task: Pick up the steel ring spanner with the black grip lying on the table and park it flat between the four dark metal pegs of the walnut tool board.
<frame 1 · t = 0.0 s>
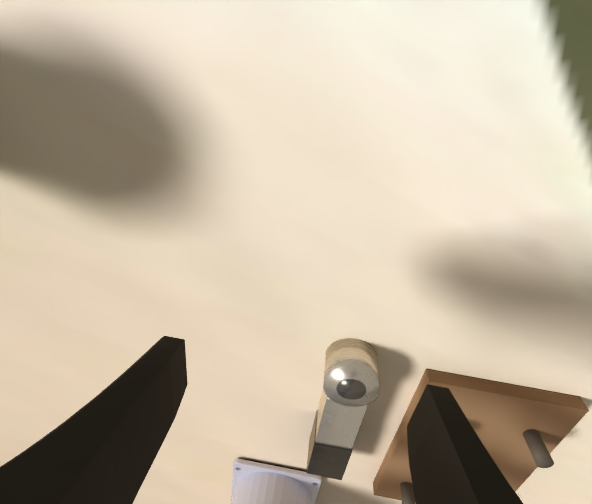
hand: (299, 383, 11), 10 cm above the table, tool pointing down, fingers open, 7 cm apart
spanner: (335, 409, 27), on the table
tool board: (460, 446, 27), on the table
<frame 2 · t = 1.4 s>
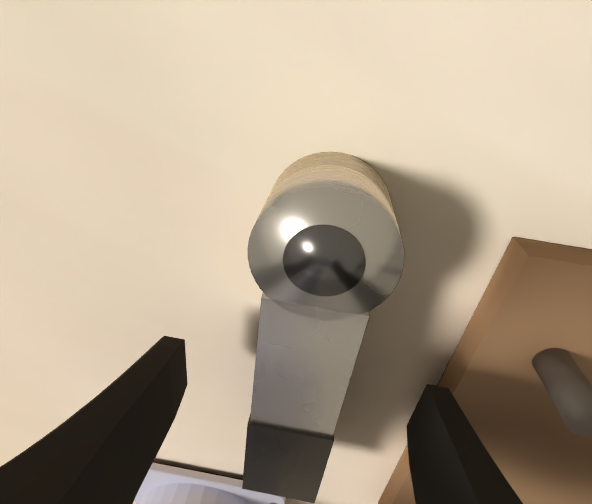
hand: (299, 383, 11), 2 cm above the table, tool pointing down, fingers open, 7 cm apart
spanner: (301, 355, 13), on the table
tool board: (559, 432, 13), on the table
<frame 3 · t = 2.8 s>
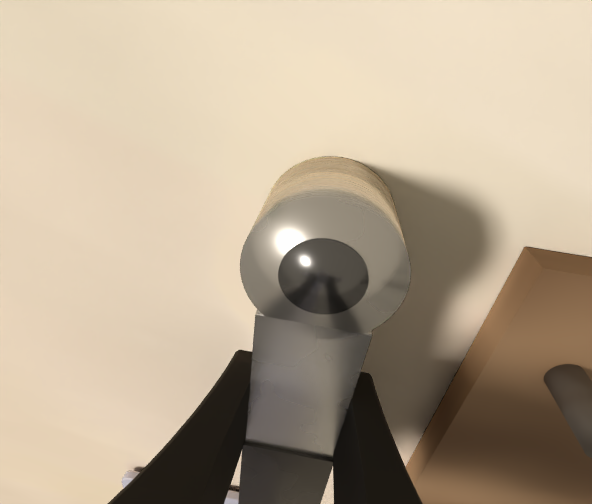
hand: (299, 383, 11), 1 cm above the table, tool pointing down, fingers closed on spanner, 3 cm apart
spanner: (300, 368, 12), on the table, touching gripper
tool board: (569, 447, 13), on the table
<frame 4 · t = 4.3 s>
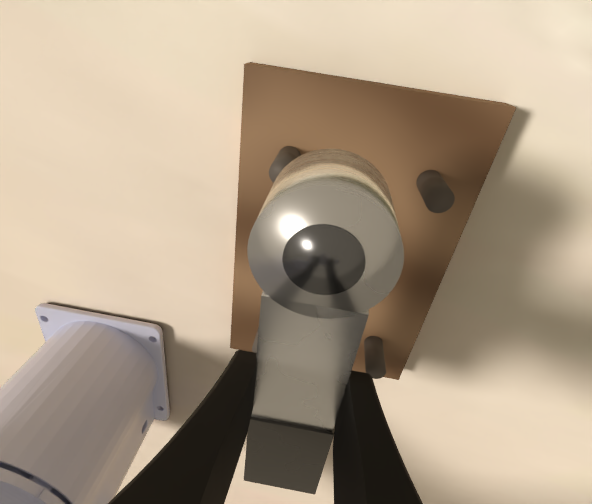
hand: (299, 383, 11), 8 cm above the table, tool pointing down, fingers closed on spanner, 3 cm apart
spanner: (302, 350, 13), point 6 cm above the table, touching gripper
tool board: (339, 246, 18), on the table
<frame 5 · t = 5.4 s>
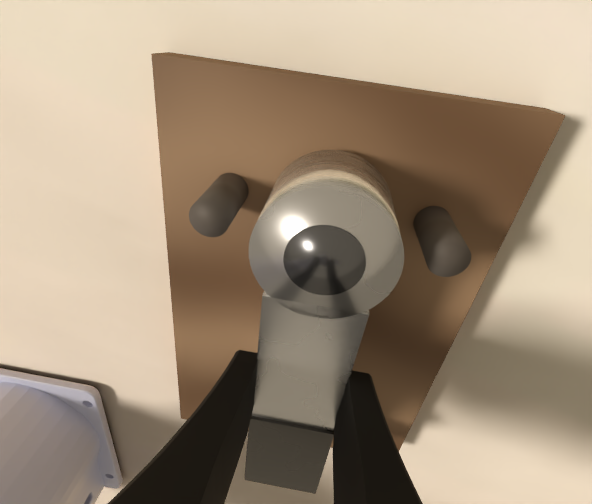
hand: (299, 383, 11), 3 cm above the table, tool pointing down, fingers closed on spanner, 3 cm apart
spanner: (303, 350, 13), point 1 cm above the table, touching gripper
tool board: (311, 299, 13), on the table
when the fingers open (3 cm above the table, at t = 6.0 s): spanner stays where it is, resting on tool board.
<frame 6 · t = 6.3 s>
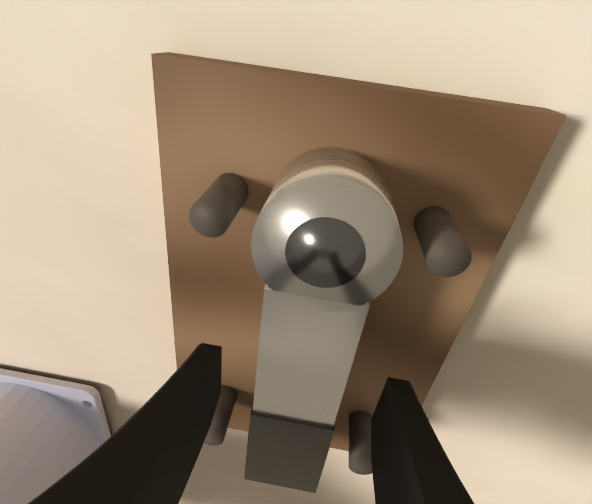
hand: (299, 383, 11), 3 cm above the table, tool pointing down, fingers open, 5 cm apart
spanner: (303, 348, 13), point 1 cm above the table, touching tool board
tool board: (311, 299, 13), on the table
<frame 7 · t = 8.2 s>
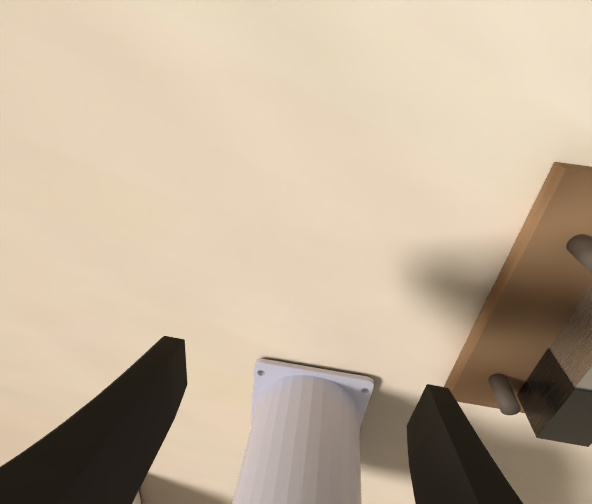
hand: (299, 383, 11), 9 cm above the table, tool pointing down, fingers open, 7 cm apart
spanner: (578, 345, 19), point 1 cm above the table, touching tool board
tool board: (582, 311, 19), on the table
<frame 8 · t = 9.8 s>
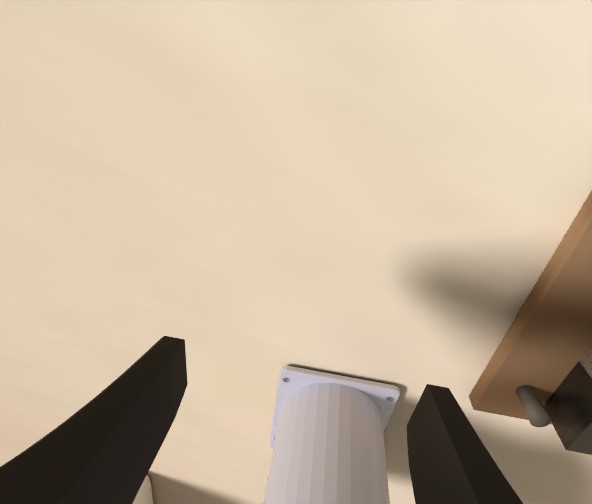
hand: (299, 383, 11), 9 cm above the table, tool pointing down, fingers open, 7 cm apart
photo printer: (136, 488, 37), on the table
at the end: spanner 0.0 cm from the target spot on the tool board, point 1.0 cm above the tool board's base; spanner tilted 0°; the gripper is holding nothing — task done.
